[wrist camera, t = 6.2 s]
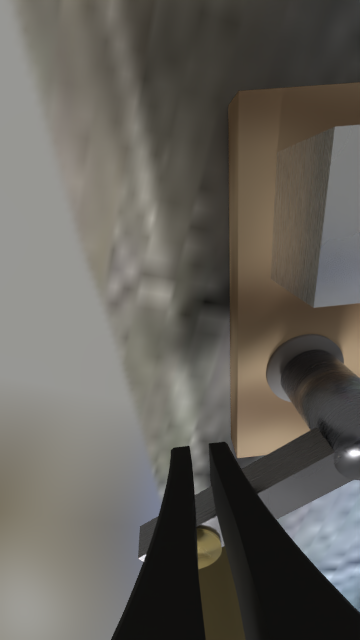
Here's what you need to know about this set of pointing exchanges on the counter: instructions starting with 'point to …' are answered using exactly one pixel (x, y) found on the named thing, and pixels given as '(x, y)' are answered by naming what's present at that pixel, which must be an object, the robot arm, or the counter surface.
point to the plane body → (255, 263)
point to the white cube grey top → (319, 218)
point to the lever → (295, 450)
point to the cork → (220, 601)
